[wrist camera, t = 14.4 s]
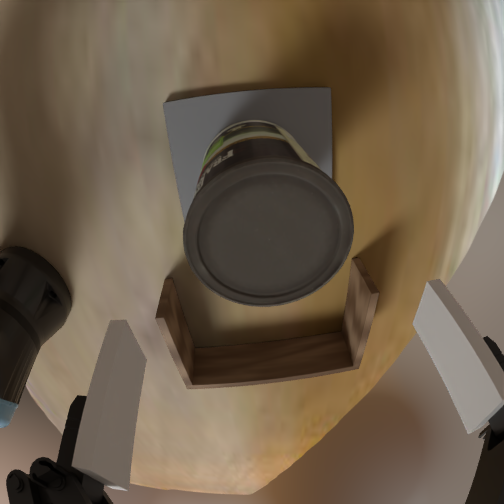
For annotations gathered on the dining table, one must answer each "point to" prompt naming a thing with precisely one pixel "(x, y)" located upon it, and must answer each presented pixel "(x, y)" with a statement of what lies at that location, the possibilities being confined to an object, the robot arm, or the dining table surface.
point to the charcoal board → (242, 109)
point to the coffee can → (265, 218)
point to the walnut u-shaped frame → (271, 344)
